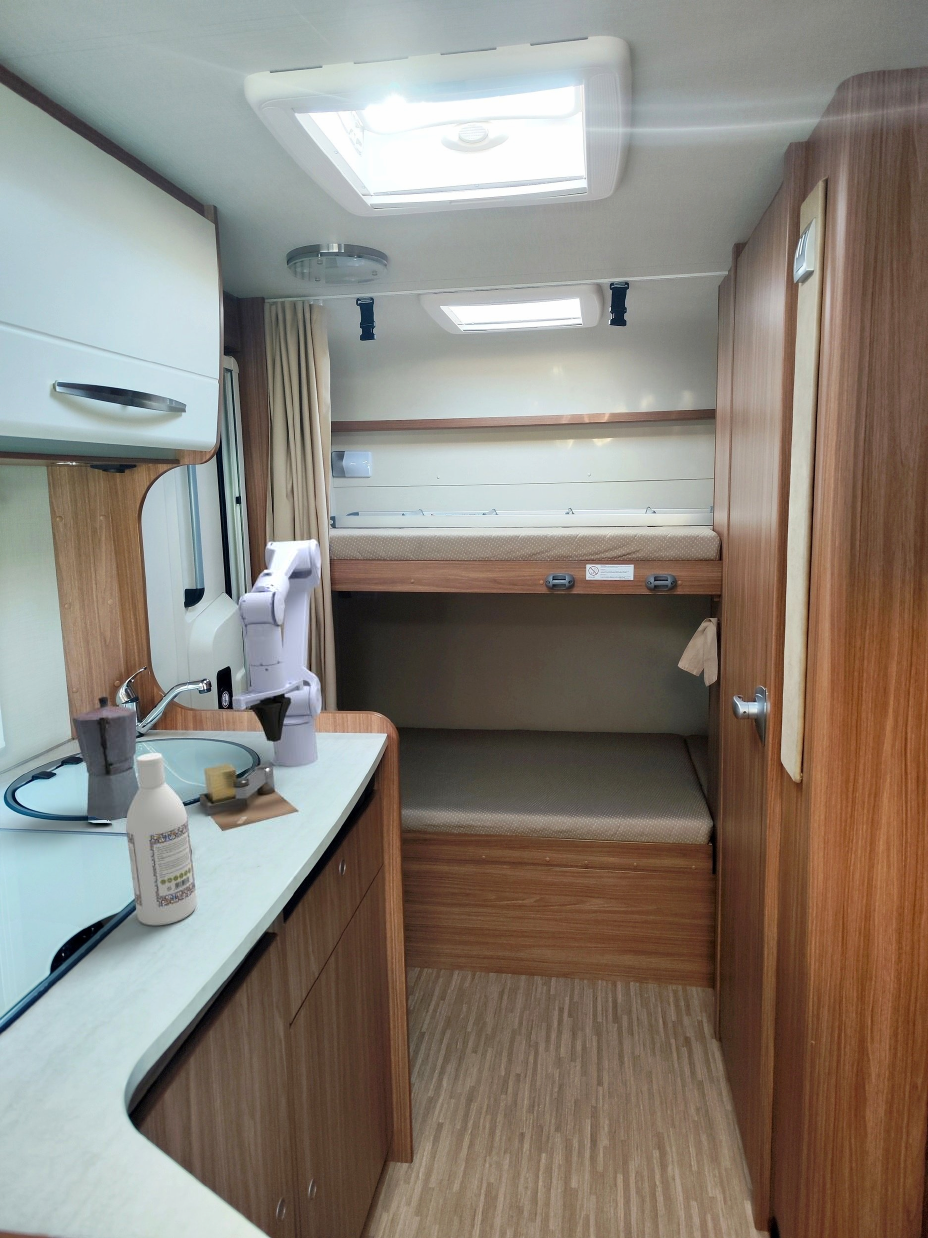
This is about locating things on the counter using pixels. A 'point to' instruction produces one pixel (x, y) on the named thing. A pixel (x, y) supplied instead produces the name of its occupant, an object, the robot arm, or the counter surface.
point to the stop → (220, 783)
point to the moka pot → (108, 758)
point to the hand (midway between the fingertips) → (273, 740)
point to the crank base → (246, 809)
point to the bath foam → (159, 848)
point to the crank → (256, 782)
